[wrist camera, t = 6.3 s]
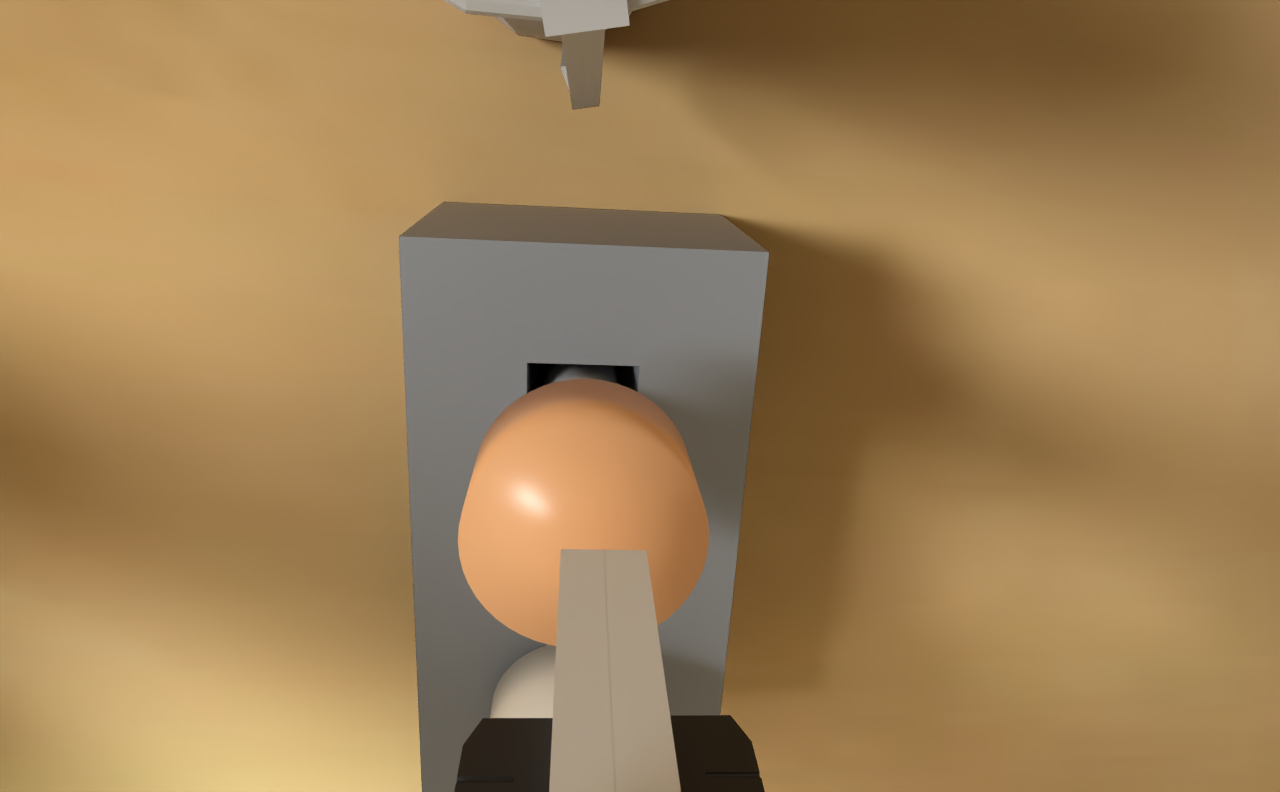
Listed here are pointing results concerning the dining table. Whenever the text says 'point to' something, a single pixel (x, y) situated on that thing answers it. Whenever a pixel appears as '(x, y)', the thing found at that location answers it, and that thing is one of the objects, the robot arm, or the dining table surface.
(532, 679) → the knob
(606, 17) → the water bottle
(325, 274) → the dining table surface
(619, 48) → the dining table surface
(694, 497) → the knob
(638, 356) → the console
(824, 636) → the dining table surface
